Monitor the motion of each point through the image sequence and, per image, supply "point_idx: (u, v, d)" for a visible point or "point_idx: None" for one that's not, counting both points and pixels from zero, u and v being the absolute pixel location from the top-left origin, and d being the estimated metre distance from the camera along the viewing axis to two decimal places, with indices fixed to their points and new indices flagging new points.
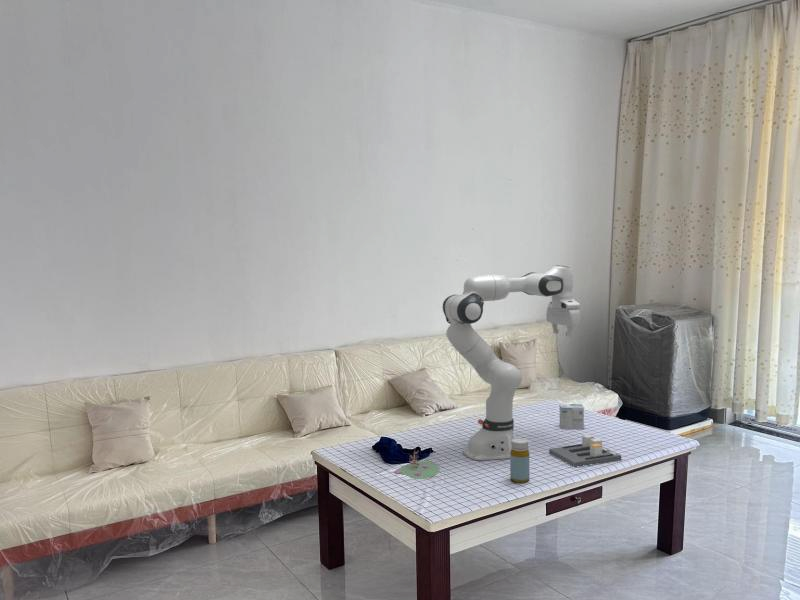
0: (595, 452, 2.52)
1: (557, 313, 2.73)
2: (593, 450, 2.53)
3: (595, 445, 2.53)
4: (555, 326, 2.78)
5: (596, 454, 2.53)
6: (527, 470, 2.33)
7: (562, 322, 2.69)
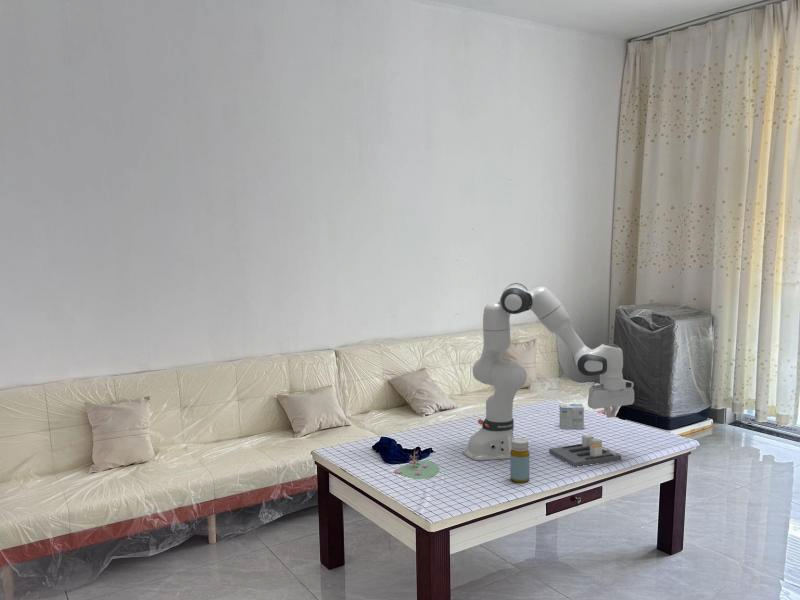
0: (595, 452, 2.52)
1: (610, 395, 2.53)
2: (593, 450, 2.53)
3: (595, 445, 2.53)
4: None
5: (596, 454, 2.53)
6: (527, 470, 2.33)
7: (619, 403, 2.54)
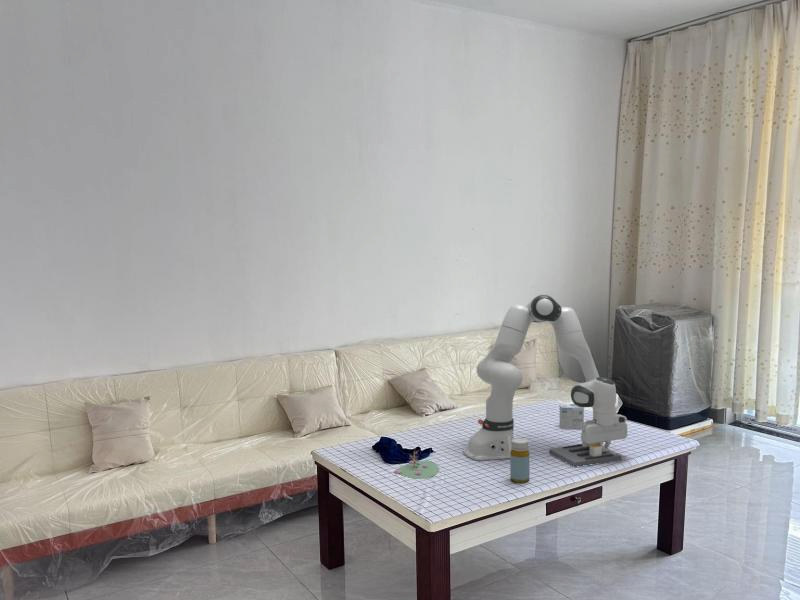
0: (595, 452, 2.52)
1: (603, 430, 2.53)
2: (593, 450, 2.53)
3: (595, 445, 2.53)
4: None
5: (596, 454, 2.52)
6: (527, 470, 2.33)
7: (613, 437, 2.54)
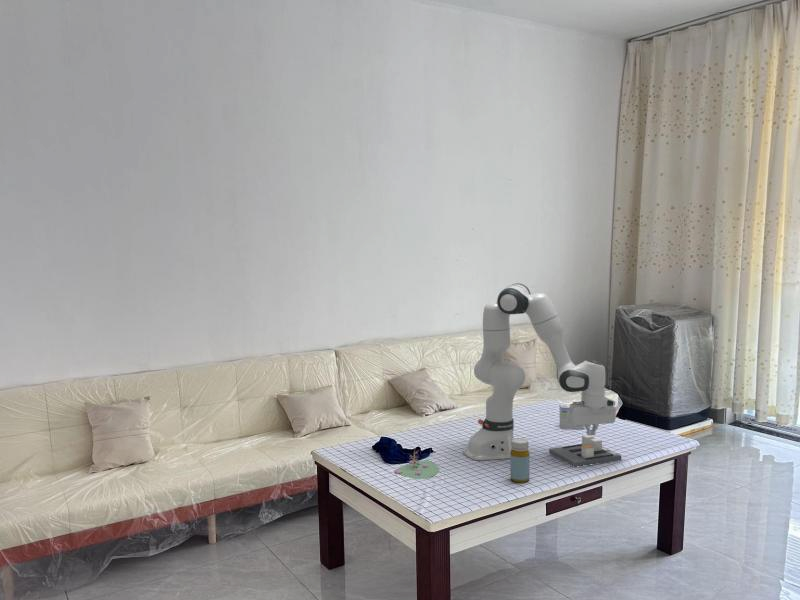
0: (586, 454, 2.51)
1: (591, 413, 2.50)
2: (584, 451, 2.51)
3: (586, 446, 2.52)
4: None
5: (587, 455, 2.51)
6: (527, 470, 2.33)
7: (600, 421, 2.52)
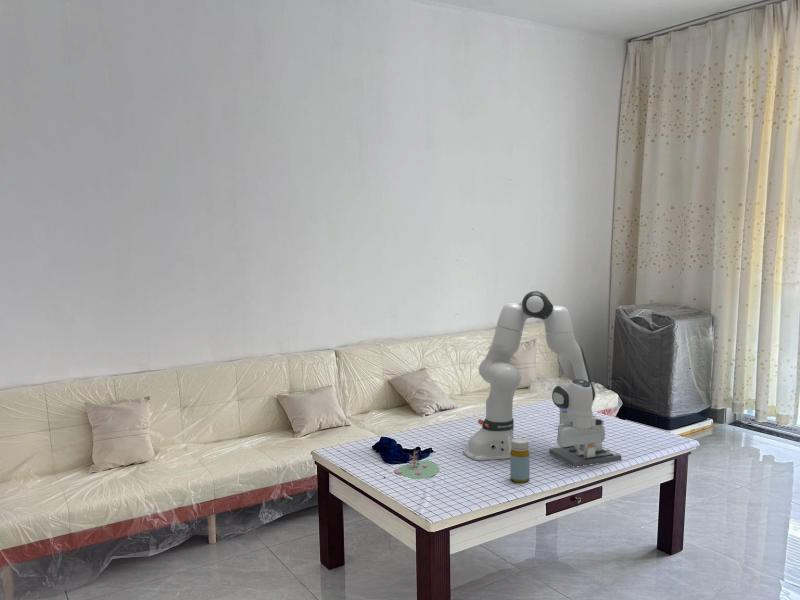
0: (588, 453, 2.51)
1: (580, 433, 2.49)
2: (586, 451, 2.52)
3: (588, 446, 2.52)
4: None
5: (589, 455, 2.52)
6: (527, 470, 2.33)
7: (589, 441, 2.50)
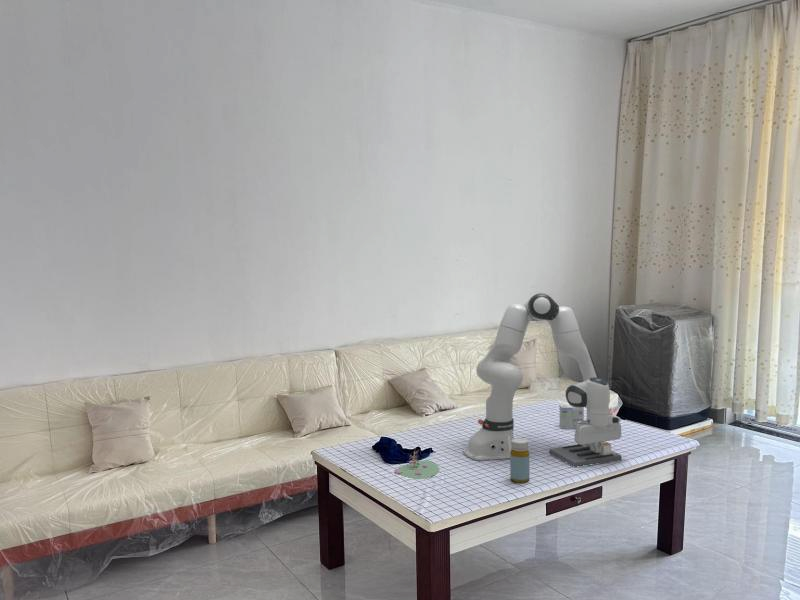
0: (604, 451, 2.54)
1: (597, 431, 2.52)
2: (602, 449, 2.54)
3: (604, 444, 2.55)
4: None
5: (605, 453, 2.54)
6: (527, 470, 2.33)
7: (606, 438, 2.53)
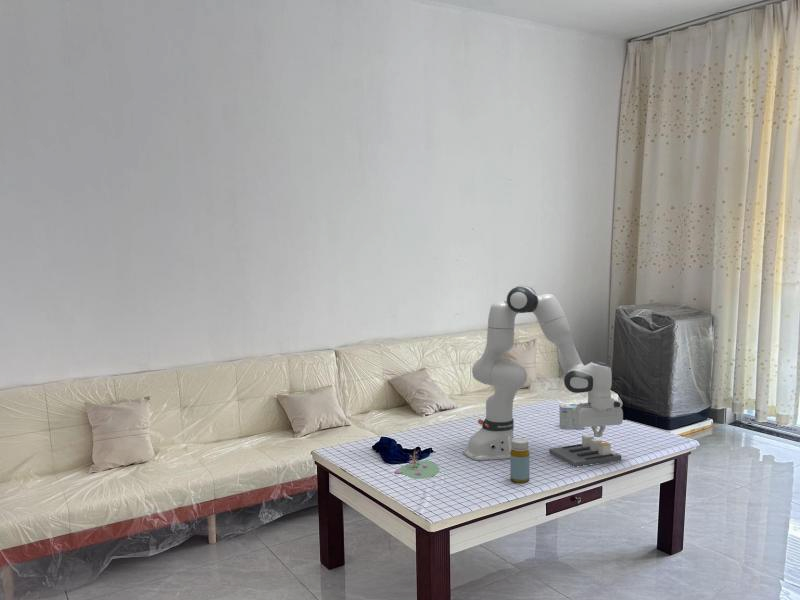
0: (604, 451, 2.54)
1: (598, 414, 2.50)
2: (602, 449, 2.54)
3: (604, 444, 2.55)
4: None
5: (605, 453, 2.54)
6: (527, 470, 2.33)
7: (607, 422, 2.51)
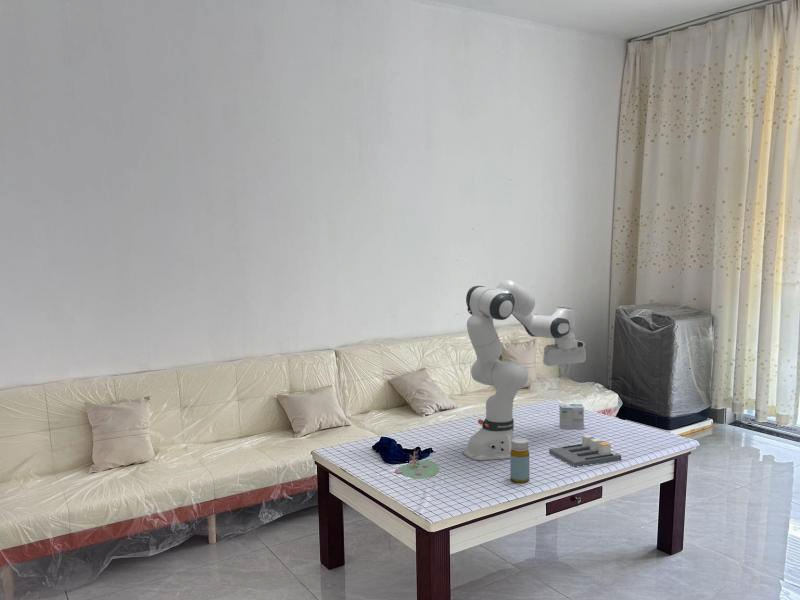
0: (604, 451, 2.54)
1: (564, 354, 2.80)
2: (602, 449, 2.54)
3: (604, 444, 2.55)
4: None
5: (605, 453, 2.54)
6: (527, 470, 2.33)
7: (572, 361, 2.81)
